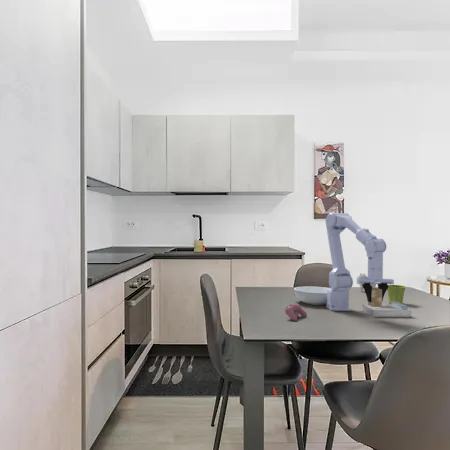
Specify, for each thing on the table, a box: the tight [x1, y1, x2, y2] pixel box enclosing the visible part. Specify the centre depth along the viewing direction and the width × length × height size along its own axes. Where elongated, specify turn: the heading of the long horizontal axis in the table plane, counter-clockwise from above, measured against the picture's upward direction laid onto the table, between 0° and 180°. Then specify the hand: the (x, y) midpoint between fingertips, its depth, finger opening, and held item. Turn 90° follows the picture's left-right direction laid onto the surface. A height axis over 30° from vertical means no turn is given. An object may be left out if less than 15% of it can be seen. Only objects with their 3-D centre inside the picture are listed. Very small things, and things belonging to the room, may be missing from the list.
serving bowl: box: [293, 285, 332, 306], centre depth 191 cm, size 21×21×7 cm
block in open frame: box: [361, 301, 412, 318], centre depth 168 cm, size 16×12×4 cm
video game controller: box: [284, 303, 308, 322], centre depth 159 cm, size 10×5×7 cm, turn 141°
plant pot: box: [386, 284, 407, 304], centre depth 191 cm, size 9×9×9 cm
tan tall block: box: [367, 287, 383, 307], centre depth 158 cm, size 4×4×7 cm
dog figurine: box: [356, 273, 377, 293], centre depth 225 cm, size 5×13×11 cm, turn 23°
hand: (374, 301), depth 158 cm, fingers closed on tan tall block, 4 cm apart
